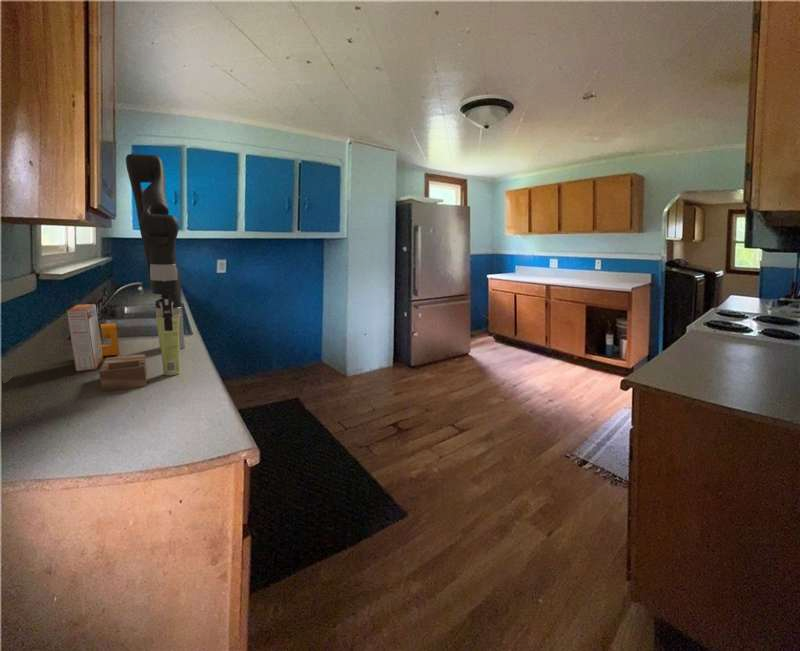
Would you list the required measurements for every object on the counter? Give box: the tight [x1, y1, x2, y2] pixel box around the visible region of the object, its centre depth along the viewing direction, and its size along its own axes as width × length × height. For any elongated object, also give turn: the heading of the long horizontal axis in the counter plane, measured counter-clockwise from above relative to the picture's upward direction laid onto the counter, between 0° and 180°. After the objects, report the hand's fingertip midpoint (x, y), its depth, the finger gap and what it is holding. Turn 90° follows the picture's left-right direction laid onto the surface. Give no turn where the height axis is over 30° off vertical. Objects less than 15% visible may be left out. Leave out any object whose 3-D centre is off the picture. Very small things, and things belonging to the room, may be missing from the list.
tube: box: [155, 315, 181, 377], centre depth 135 cm, size 6×5×20 cm
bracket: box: [100, 322, 120, 357], centre depth 157 cm, size 11×7×12 cm, turn 37°
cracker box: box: [66, 303, 104, 372], centre depth 141 cm, size 14×6×21 cm, turn 27°
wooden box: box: [99, 353, 148, 393], centre depth 128 cm, size 16×11×6 cm
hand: (168, 328), depth 133 cm, fingers open, 8 cm apart
